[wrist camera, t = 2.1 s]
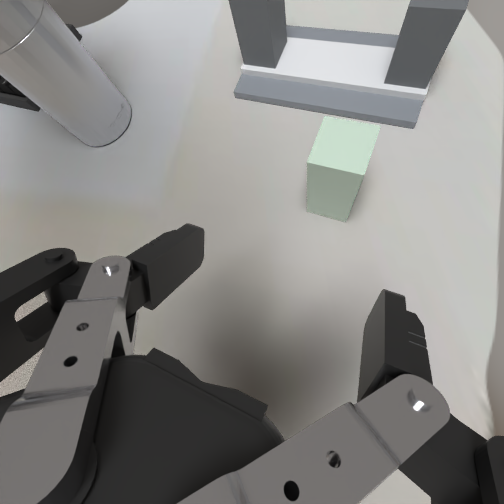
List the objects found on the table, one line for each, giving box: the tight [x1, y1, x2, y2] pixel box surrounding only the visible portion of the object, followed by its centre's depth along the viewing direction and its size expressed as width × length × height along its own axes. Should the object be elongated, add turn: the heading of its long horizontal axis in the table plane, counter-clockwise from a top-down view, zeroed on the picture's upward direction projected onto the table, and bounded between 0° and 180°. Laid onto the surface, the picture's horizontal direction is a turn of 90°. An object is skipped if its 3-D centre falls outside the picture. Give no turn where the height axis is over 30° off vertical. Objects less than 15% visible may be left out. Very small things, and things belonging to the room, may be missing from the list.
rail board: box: [229, 0, 469, 129], centre depth 30 cm, size 23×12×10 cm, turn 68°
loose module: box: [307, 116, 381, 222], centre depth 26 cm, size 4×5×10 cm
